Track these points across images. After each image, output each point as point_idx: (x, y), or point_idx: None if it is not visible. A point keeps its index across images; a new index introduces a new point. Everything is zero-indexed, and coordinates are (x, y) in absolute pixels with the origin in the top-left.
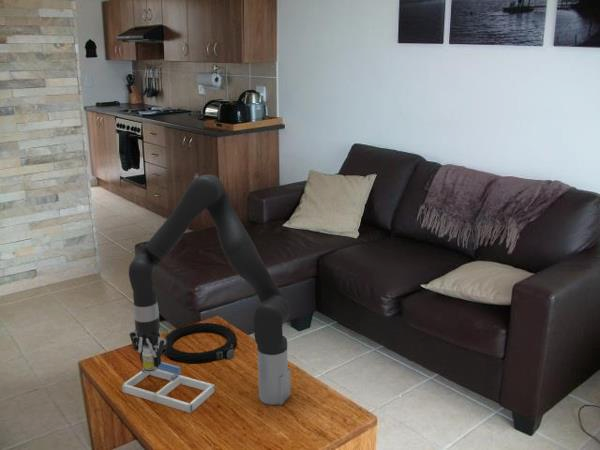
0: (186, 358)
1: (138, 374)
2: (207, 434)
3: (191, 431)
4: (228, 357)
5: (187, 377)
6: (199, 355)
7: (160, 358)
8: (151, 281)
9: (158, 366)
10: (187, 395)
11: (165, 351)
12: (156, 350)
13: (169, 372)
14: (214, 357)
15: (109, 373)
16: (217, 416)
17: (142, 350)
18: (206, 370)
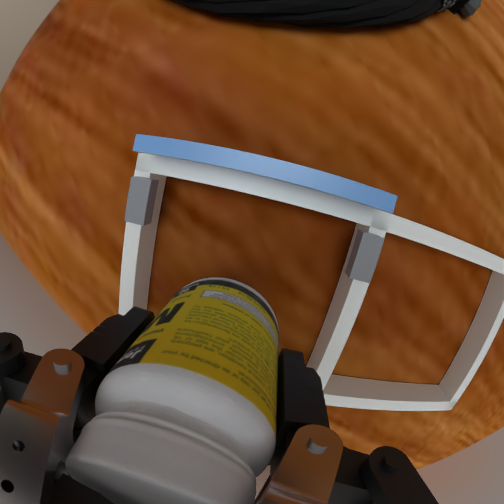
0: (321, 17)
1: (132, 252)
2: (469, 431)
3: (439, 440)
4: (469, 15)
5: (426, 229)
6: (390, 6)
7: (325, 413)
8: None
9: (276, 325)
10: (424, 310)
11: (412, 475)
12: (256, 437)
13: (304, 191)
14: (434, 11)
15: (30, 214)
16: (498, 375)
17: (87, 420)
18: (437, 89)
